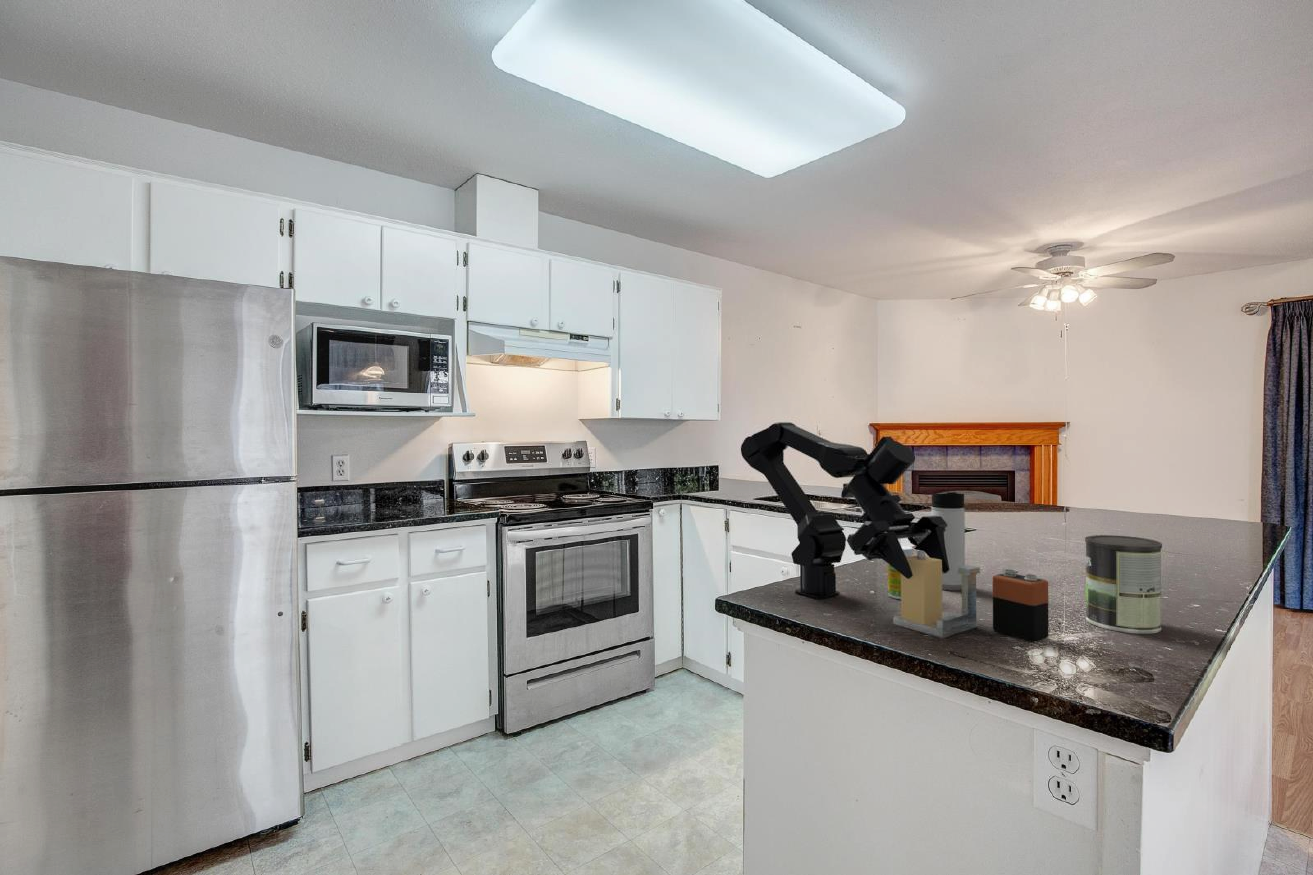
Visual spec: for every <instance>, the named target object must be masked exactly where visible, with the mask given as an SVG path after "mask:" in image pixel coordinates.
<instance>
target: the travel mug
mask: <svg viewBox="0 0 1313 875" xmlns="http://www.w3.org/2000/svg"><path fill="white" fill-rule="evenodd" d="M965 513H966V512H965V493H957V492H956V491H947V492H946V493H931V513H930V514H931V515H930V516H941V517H942V518H943V520H944V521H945V522H946V523H947V527H946V528H945V529H946V531H945V532H944V540H945V548H946V553H947V559H948V564H949V569H950V570H949V571H948V572H947V573H943V572H942V591H949V592H950V591H956V592H957V591H962V574H958V567H962V566H966V548H965V547H966V544H965V543H966V542H965V541H966V539H965V538H966V537H965V534H966V529H965V528H966V525H965V524H966V523H965V520H966V519H965Z"/></svg>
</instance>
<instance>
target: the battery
mask: <svg viewBox="0 0 1313 875" xmlns="http://www.w3.org/2000/svg"><path fill="white" fill-rule="evenodd" d="M1001 571H1002V573H999V574H994V575H993V576H992V630H993V631H994V632H996V633H1000V634H1003V635H1006V636H1009V637H1012V638H1013V637H1014V638H1017V639H1020V640H1025V641H1028V642H1037V641H1041V640H1045V639H1047V638H1049V582H1048V580H1046V579H1044V578H1043V579H1042V578H1038V577H1037V575H1036V574H1032V573H1025V574H1024V575H1023V574H1019V571H1018V570H1017V569H1013V568H1003V569H1001Z"/></svg>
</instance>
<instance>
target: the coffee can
mask: <svg viewBox="0 0 1313 875" xmlns="http://www.w3.org/2000/svg"><path fill="white" fill-rule="evenodd" d="M1084 542H1085V600H1086V602H1085V614H1086V615H1085V621H1086V622H1087V623H1089V624H1091V625H1092V626H1096V627H1098V628H1101V629H1104V630H1109V631H1113V632H1118V633H1125V634H1126V633H1127V634H1134V635H1135V634H1138V635H1149V634H1157V633H1160V632H1161V631H1162V629H1163V628H1162V620H1161V619H1162V548H1163V543H1162V542H1161V541H1158V540H1154V539H1151V538H1150V539H1149V538H1144V537H1137V536H1130V535H1129V536H1127V535H1112V534H1111V535H1110V534H1104V535H1103V534H1101V535H1087V536H1086V537H1085V538H1084Z"/></svg>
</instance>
